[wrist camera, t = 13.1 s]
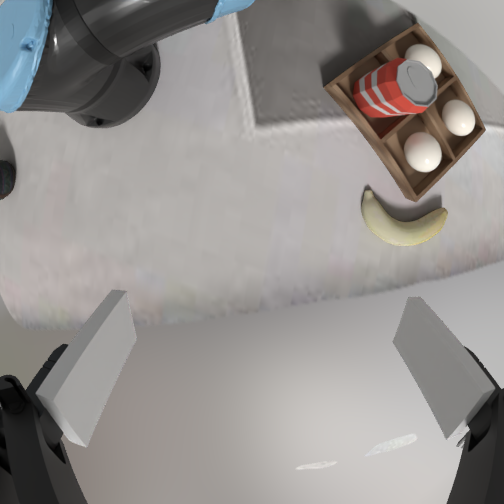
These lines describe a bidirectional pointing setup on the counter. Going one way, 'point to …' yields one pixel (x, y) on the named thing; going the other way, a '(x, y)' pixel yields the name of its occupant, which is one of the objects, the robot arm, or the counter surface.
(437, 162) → the egg
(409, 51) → the egg
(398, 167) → the crate
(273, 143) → the counter surface
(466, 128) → the egg
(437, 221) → the fruit
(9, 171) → the mate gourd
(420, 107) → the beverage can
